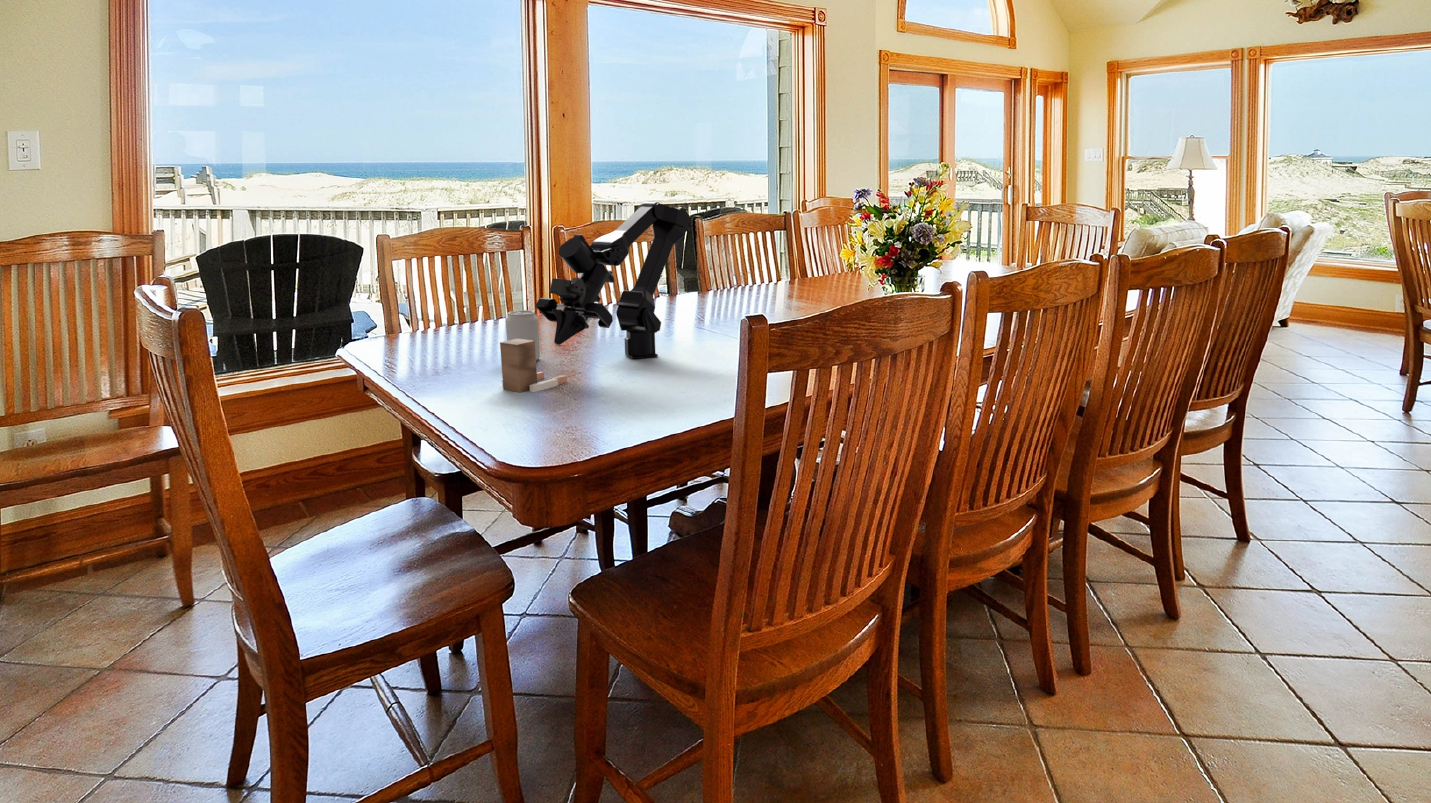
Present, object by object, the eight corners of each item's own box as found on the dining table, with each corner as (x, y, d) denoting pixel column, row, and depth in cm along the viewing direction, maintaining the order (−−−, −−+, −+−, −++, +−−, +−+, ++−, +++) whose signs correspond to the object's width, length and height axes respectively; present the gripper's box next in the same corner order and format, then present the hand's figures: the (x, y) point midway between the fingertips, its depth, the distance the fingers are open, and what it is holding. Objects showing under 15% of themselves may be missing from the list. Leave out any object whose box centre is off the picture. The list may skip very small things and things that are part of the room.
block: (520, 384, 204) (517, 338, 202) (537, 387, 201) (534, 340, 199) (503, 389, 200) (499, 342, 198) (520, 392, 197) (516, 344, 195)
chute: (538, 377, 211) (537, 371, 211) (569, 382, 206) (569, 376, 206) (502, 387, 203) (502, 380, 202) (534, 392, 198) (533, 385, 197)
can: (533, 365, 224) (530, 314, 221) (503, 364, 226) (499, 313, 223) (545, 358, 231) (542, 309, 228) (515, 357, 233) (512, 308, 230)
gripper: (538, 261, 213) (505, 318, 207) (601, 266, 202) (568, 326, 197) (565, 292, 221) (534, 347, 215) (627, 298, 211) (596, 356, 205)
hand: (556, 343), depth 208 cm, fingers closed
